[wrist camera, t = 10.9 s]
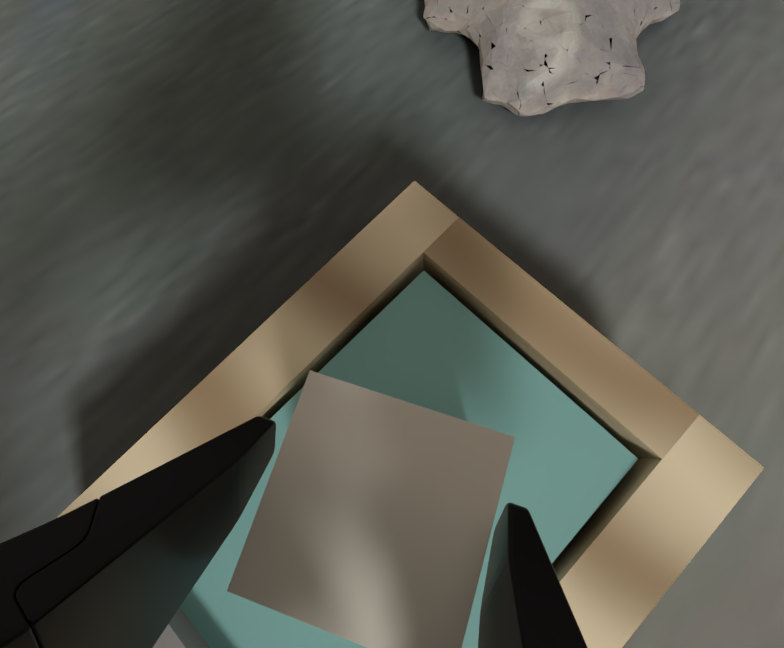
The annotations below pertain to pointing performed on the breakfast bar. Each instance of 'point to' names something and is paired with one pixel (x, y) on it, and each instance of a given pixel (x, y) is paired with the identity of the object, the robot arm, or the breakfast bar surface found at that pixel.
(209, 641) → the trapdoor
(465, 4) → the stone
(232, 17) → the breakfast bar surface
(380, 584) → the stone pillar
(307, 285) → the trapdoor box
